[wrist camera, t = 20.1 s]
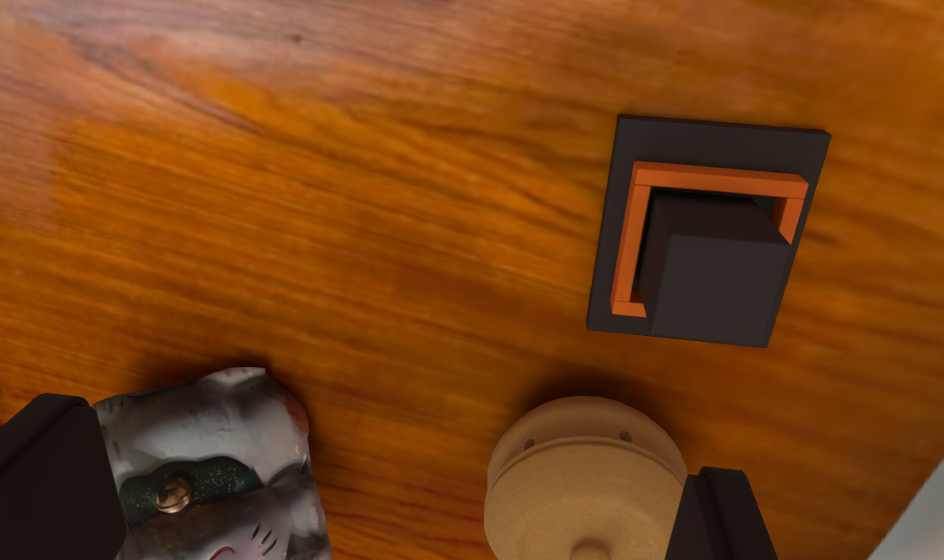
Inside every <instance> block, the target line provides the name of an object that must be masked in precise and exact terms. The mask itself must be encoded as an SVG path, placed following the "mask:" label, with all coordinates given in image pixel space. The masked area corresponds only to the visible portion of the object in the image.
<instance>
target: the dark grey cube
mask: <svg viewBox="0 0 944 560" xmlns="http://www.w3.org/2000/svg"><path fill="white" fill-rule="evenodd" d="M790 248H791V245H790V243H789V242H788V241H787V240H786V239H785V237H784V236H783V235H782V234H781V233H780V231H779V230H778V229H777V228H776V227H775V225H774V224H773V223H772V222H771V221H770V219H769V218H768V217H767V216H766V214H765V213H764V212H763V211H762V210H761V208H760V207H759V206H758V205H757V204H756V202H755V201H754V200H753V199H751V198H739V197H728V196H717V195H705V194H694V193H682V192H671V191H660V190H653V191H652V194H651V199H650V205H649V210H648V215H647V221H646V226H645V231H644V236H643V242H642V247H641V252H640V258H639V263H638V268H637V274H636V279H637V283H638V286H639V290H640V294H641V298H642V302H643V305H644V309H645V313H646V317H647V321H648V324H649V328H650V332H651V334H658V335H668V336H677V337H687V338H697V339H706V340H716V341H725V342H735V343H745V344H754V345H761V344H762V341H763V338H764V334H765V331H766V328H767V324H768V321H769V318H770V314H771V311H772V308H773V304H774V301H775V298H776V294H777V291H778V288H779V284H780V281H781V278H782V274H783V271H784V268H785V264H786V261H787V258H788V254H789V251H790Z"/></svg>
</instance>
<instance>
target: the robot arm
mask: <svg viewBox="0 0 944 560" xmlns="http://www.w3.org/2000/svg"><path fill="white" fill-rule="evenodd" d="M126 531H127V528H126V522H125V518H124V515H123V511H122V507H121V503H120V499H119V496H118V492H117V488H116V484H115V480H114V476H113V473H112V469H111V465H110V461H109V457H108V453H107V450H106V446H105V442H104V438H103V434H102V431H101V427H100V423H99V419H98V415H97V413H96V410H95V409H93V408H92V407H90V406H89V404H88V402H87V401H86V400H85V399H84V398H83V397H78V396H70V395H61V394H52V393H44V394H41V395H39V396H37V397H36V398H34V399H33V400H32V401H31V402H30V403H29V404H28V405H26V406H25V407H24V408H23V409H22V410H21V411H20V412H18V413H17V414H16V415H15V416H14V417H13V418H11V419H10V420H9V421H8V422H7V423H6V424H5V425H3V426H2V427H1V428H0V560H113V559H114V558H115V557H116V555H117V554H118V552H119V551H120V549H121V548H122V546H123V543H124V541H125V537H126ZM664 560H778V558H777V556H776V553H775V550H774V548H773V545H772V542H771V540H770V537H769V534H768V532H767V529H766V526H765V524H764V521H763V518H762V516H761V513H760V511H759V508H758V505H757V503H756V500H755V497H754V495H753V492H752V489H751V487H750V484H749V481H748V479H747V477H746V475H745V473H744V472H743V471H742V470H733V469H724V468H715V467H706V466H704V467H702V468H701V469H700V472H699V474H698V475H688V476H687V478H686V481H685V484H684V488H683V492H682V496H681V499H680V503H679V507H678V511H677V514H676V518H675V522H674V525H673V529H672V533H671V537H670V540H669V544H668V548H667V552H666V555H665V559H664Z"/></svg>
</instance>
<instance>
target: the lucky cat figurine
mask: <svg viewBox="0 0 944 560" xmlns="http://www.w3.org/2000/svg"><path fill="white" fill-rule="evenodd" d="M265 373H266V372H265V368H256V367H235V368H227V369H224V370H222V371H220V372H218V371H217V372H214V373H212V374H210V375H208V376H205V377H203V378H200V379H198V380H194V381H191V382H187V383H183V384H180V385H175V386H169V387H163V388H157V389H151V390H145V391H139V392H133V393H127V394H121V395H116V396H113V397H111V398H107V399H104V400H101V401H99V402H97V403H95V404H94V405H93V406H91V407H92V408H93V409H95V410H96V413H97V415H98V419H99V423H100V427H101V431H102V434H103V438H104V442H105V446H106V450H107V453H108V457H109V461H110V465H111V469H112V473H113V476H114V480H115V484H116V488H117V492H118V496H119V499H120V503H121V507H122V511H123V515H124V518H125V522H126V528H127V531H126V537H125V541H124V543H123V546H122V548H121V549H120V551H119V552H118V554H117V555H116V557H115V558H114V559H113V560H331V559H332V547H331V543H330V540H329V537H328V535H327V521H326V517H325V513H324V509H323V508H322V506H321V502H320V496H319V493H318V490H317V484H316V481H315V477H314V474H313V470H312V465H311V460H310V454H309V446H308V438H307V437H308V434H309V431H310V430H309V421H308V418H307V414H306V411H305V409H304V406H303V405H302V404H301V403H300V402H299V400H298V399H297V398H296V397H295V396H293V395H292V394H291V393H290V392H289V391H287V390H286V389H285V388H284V387H283V386H282V385H280V384H279V383H278V382H277V381H276V380H275V379H274V378H273V377H272V376H270V375H267V374H265Z"/></svg>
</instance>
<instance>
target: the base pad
mask: <svg viewBox="0 0 944 560" xmlns="http://www.w3.org/2000/svg"><path fill="white" fill-rule="evenodd" d="M831 137H832V135H830V134H829V133H827V132H826V131H824V130H813V129H801V128H788V127H775V126H763V125H750V124H737V123H725V122H712V121H699V120H687V119H674V118H661V117H649V116H636V115H623V114H619V115H618V119H617V125H616V132H615V138H614V145H613V151H612V158H611V164H610V170H609V177H608V183H607V190H606V196H605V203H604V209H603V216H602V222H601V229H600V235H599V241H598V248H597V254H596V261H595V267H594V274H593V280H592V287H591V293H590V300H589V306H588V313H587V319H586V324H587V329H588V330H596V331H605V332H615V333H625V334H634V335H644V336H654V337H663V338H673V339H683V340H692V341H702V342H712V343H721V344H731V345H741V346H750V347H760V348H767V346H768V343H769V340H770V336H771V333H772V330H773V327H774V323H775V320H776V317H777V313H778V310H779V307H780V304H781V300H782V297H783V294H784V290H785V287H786V284H787V281H788V277H789V274H790V271H791V268H792V264H793V261H794V258H795V254H796V251H797V248H798V245H799V241H800V238H801V235H802V232H803V228H804V225H805V222H806V218H807V215H808V212H809V209H810V205H811V202H812V199H813V195H814V192H815V189H816V186H817V182H818V179H819V176H820V173H821V169H822V166H823V163H824V159H825V156H826V153H827V150H828V146H829V143H830V140H831ZM653 190H660V191H671V192H682V193H694V194H705V195H717V196H728V197H739V198H751V199H753V200H754V201H755V202H756V204H757V205H758V206H759V207H760V208H761V210H762V211H763V212H764V213H765V214H766V216H767V217H768V218H769V219H770V221H771V222H772V223H773V224H774V225H775V227H776V228H777V229H778V230H779V231H780V233H781V234H782V235H783V236H784V237H785V239H786V240H787V241H788V242H789V243H790V245H791V248H790V251H789V254H788V258H787V261H786V264H785V268H784V271H783V274H782V278H781V281H780V284H779V288H778V291H777V294H776V298H775V301H774V304H773V308H772V311H771V314H770V318H769V321H768V324H767V328H766V331H765V334H764V338H763V341H762V344H761V345H754V344H745V343H735V342H725V341H716V340H706V339H697V338H687V337H677V336H668V335H658V334H651V332H650V328H649V324H648V321H647V317H646V313H645V309H644V305H643V302H642V298H641V294H640V290H639V286H638V283H637V279H636V274H637V268H638V263H639V258H640V252H641V247H642V242H643V236H644V231H645V226H646V221H647V215H648V210H649V205H650V199H651V194H652V191H653Z"/></svg>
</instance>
